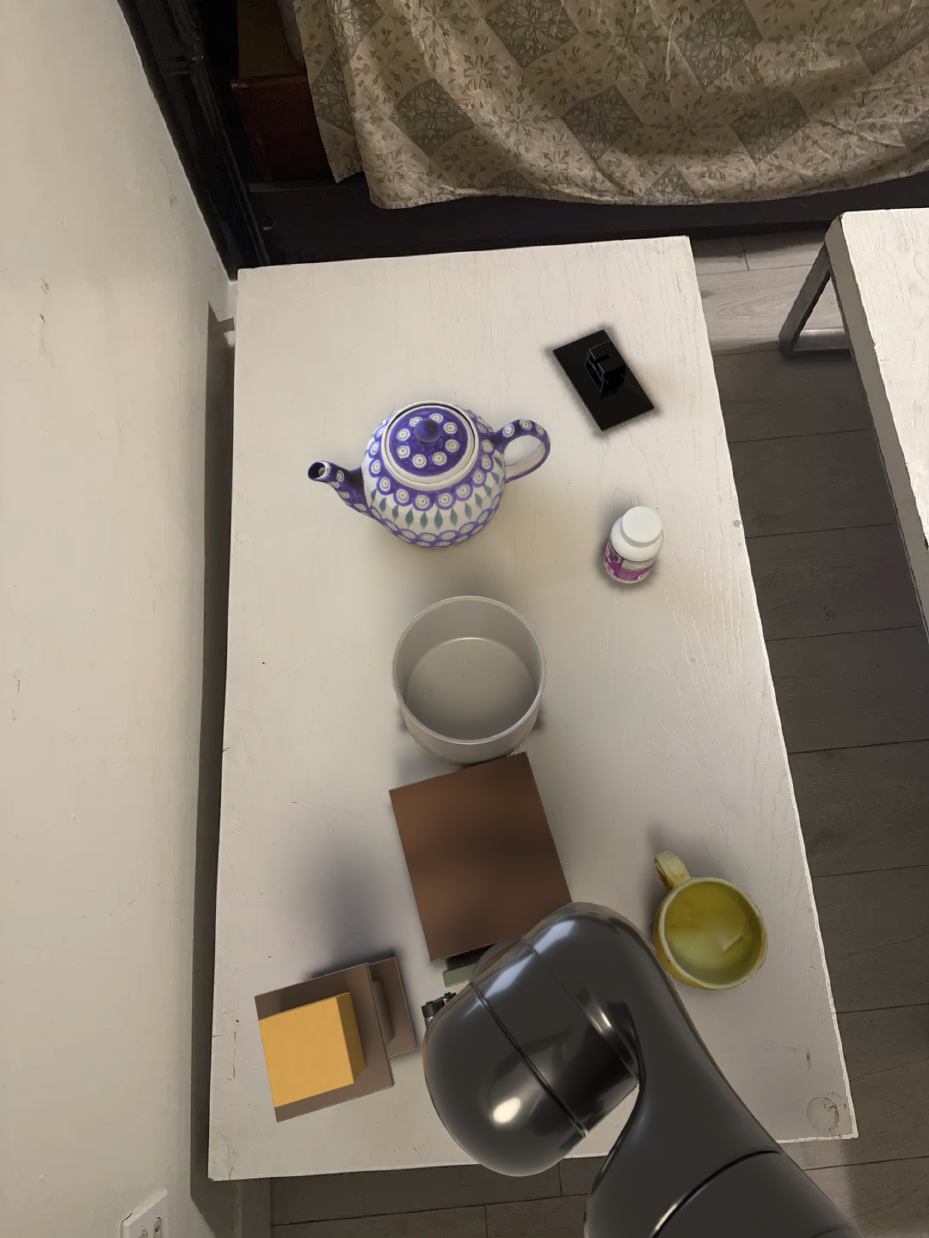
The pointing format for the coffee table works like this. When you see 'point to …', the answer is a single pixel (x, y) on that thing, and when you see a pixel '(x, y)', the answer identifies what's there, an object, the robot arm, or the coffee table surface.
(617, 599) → the coffee table surface
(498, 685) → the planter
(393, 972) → the stand
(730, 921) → the mug
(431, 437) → the teapot
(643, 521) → the pill bottle
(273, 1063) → the block
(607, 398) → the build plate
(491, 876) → the cabinet
